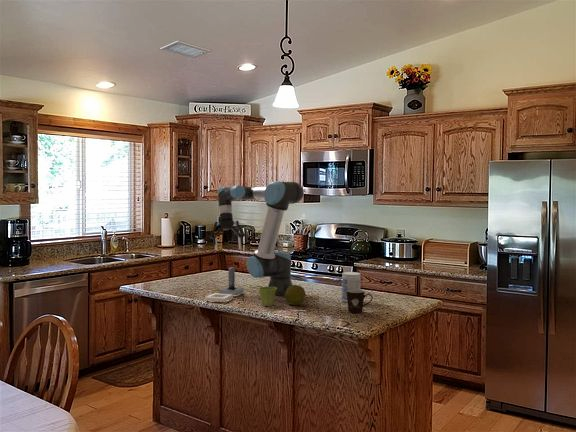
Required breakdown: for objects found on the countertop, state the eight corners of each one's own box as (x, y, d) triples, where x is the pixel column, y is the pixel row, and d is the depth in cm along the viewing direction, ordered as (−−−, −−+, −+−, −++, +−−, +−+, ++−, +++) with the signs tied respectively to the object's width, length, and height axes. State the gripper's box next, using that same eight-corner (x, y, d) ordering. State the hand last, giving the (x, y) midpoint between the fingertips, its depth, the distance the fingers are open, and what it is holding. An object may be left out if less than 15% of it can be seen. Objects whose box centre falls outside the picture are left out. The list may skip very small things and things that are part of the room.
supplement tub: (339, 302, 268) (339, 273, 267) (345, 299, 276) (345, 271, 276) (357, 304, 264) (357, 275, 263) (362, 300, 272) (362, 272, 272)
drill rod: (235, 294, 288) (235, 267, 288) (233, 295, 285) (233, 268, 285) (230, 294, 289) (229, 267, 289) (227, 295, 286) (227, 268, 286)
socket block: (243, 293, 291) (243, 287, 290) (236, 297, 281) (236, 290, 281) (227, 292, 294) (227, 286, 293) (219, 296, 284) (219, 289, 284)
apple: (284, 306, 257) (284, 284, 257) (286, 302, 267) (286, 281, 267) (304, 307, 256) (304, 285, 256) (306, 303, 266) (306, 281, 265)
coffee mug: (342, 312, 244) (342, 291, 244) (351, 309, 252) (351, 288, 251) (365, 315, 238) (365, 294, 237) (373, 312, 245) (373, 291, 245)
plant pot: (254, 305, 261) (254, 287, 261) (269, 302, 267) (269, 285, 267) (265, 308, 254) (265, 290, 254) (280, 305, 260) (280, 288, 260)
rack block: (233, 299, 276) (233, 294, 276) (224, 303, 265) (224, 298, 265) (214, 297, 279) (214, 293, 279) (204, 302, 269) (204, 297, 268)
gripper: (245, 214, 310) (248, 249, 306) (203, 215, 304) (205, 251, 299) (248, 211, 303) (251, 247, 299) (204, 212, 297) (207, 249, 292)
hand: (228, 249), depth 299 cm, fingers open, 13 cm apart
